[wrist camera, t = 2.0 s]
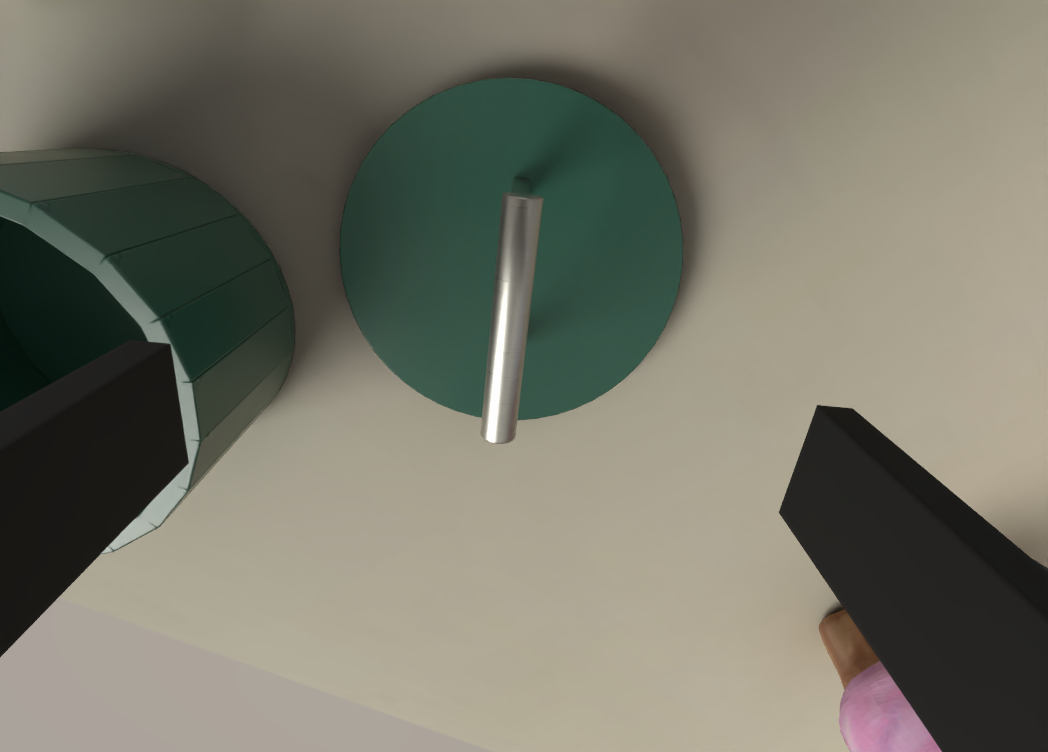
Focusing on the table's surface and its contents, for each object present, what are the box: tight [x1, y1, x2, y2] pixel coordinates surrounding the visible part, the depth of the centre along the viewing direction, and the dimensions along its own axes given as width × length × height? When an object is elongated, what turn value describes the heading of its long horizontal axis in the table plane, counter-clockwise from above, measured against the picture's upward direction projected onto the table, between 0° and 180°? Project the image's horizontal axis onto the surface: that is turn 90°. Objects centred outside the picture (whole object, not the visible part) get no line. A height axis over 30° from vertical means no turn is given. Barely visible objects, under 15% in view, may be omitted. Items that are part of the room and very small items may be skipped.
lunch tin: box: [0, 148, 295, 554], centre depth 22 cm, size 14×14×9 cm
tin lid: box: [340, 77, 683, 444], centre depth 22 cm, size 15×15×9 cm
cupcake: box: [819, 609, 942, 752], centre depth 31 cm, size 9×9×10 cm
